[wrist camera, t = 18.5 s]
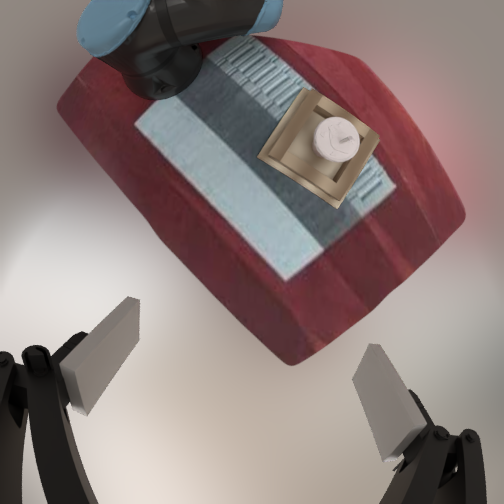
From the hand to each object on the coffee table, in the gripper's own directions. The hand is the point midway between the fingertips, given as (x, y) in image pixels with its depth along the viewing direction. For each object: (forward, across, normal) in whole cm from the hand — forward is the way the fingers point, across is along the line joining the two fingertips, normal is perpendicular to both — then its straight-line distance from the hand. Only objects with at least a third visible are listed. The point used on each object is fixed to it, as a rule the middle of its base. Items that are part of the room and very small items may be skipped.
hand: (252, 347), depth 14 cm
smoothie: (+33, +7, +16) cm, 38 cm away
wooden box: (+35, +7, +17) cm, 39 cm away
